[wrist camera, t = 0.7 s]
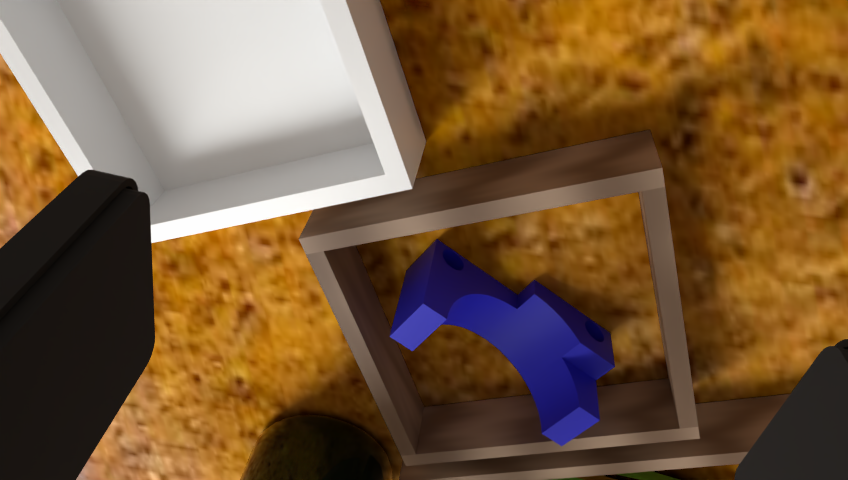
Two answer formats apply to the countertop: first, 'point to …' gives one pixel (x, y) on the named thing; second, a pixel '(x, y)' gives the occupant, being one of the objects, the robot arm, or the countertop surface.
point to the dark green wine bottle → (316, 452)
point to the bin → (221, 101)
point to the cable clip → (512, 334)
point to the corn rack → (627, 450)
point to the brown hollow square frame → (485, 200)
